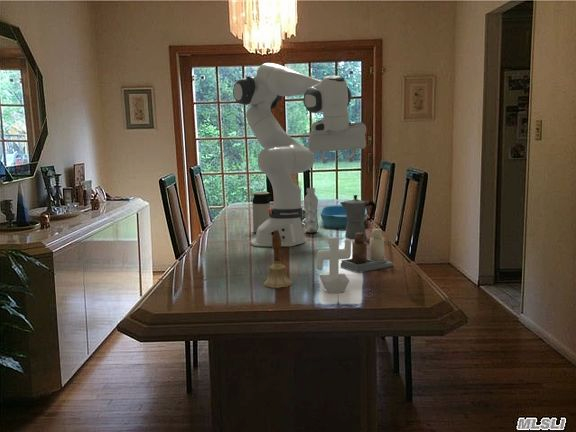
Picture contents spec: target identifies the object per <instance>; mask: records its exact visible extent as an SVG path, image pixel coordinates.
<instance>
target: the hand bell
mask: <svg viewBox="0 0 576 432" xmlns="http://www.w3.org/2000/svg"><path fill="white" fill-rule="evenodd" d="M272 245H273V246H272V249H273V253H274V263H273V264H272V265H270V266H269V271H268V272H269V273H268V276H267V279H266V280H264V282H263V286H264V287H266V288H269V287H271V288H270V289H280V288H279V287H285V288H288V286H289V287H291V286H292V285H293V283H292V280H290V278H289V277H288V274H287V270H286V266H285V265H283V264H282V263H281V248H282V246H281V237H280V234H279V231H278V230H274V234H273V237H272ZM290 285H291V286H290Z"/></svg>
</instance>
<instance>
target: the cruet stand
mask: <svg viewBox="0 0 576 432" xmlns="http://www.w3.org/2000/svg"><path fill="white" fill-rule="evenodd" d="M382 231H383V230H382V228H372V231H371V236H372V237H369V257H367V263H363V264H354V263H352V258H348V259H341V262H340V267H341V268H344V269H346V270H349V271H352V272H355V273H360V272H361V273H362V272H368V271H374V270H378V269H384V268H390V267H393V266H394V262H393V261H389V260H387V258H385V237H383V236H382V235H383V234H382Z"/></svg>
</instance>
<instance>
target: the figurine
mask: <svg viewBox="0 0 576 432" xmlns="http://www.w3.org/2000/svg"><path fill="white" fill-rule="evenodd" d="M339 238H340V237H337V236H332V237H328V240H327V241H328V243H327V244H328V249H319V250H317V252H316V269H317V270H319V271H322V270H323V268H324V267H323V266H324V265H323V264H324V261H328V260H329V262H328V263H329V264H328V265H329V266H328V267H329V272H328V274H319V275H318V277H319V278H320V281H321V283H322V286H323V288H324V290H325V289H326V290H325V291H326V293H327V294H342V293H344V292H345V291H346V289H347V287H348V285H349V284H350V281H351V280H350V279H349V278H348V276H347V275H346V274H345V273H339V266H340V265H339V260H347V259H351V257H352V256H351V255H352V239H348V238H345V239H344V248H339V245H340V239H339Z"/></svg>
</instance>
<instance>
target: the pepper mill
mask: <svg viewBox="0 0 576 432" xmlns="http://www.w3.org/2000/svg"><path fill="white" fill-rule="evenodd" d="M364 235H365V233H355V239H354V241H351V255H352V256H351V259H352V263H354V264H363V263H367V259H368V257H367V255H368V251H367V250H368V249H367V248H368V246H367V245H368V242H366V241H365V238H364Z"/></svg>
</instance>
